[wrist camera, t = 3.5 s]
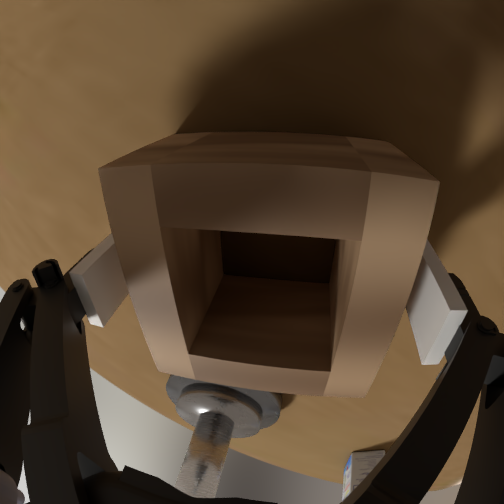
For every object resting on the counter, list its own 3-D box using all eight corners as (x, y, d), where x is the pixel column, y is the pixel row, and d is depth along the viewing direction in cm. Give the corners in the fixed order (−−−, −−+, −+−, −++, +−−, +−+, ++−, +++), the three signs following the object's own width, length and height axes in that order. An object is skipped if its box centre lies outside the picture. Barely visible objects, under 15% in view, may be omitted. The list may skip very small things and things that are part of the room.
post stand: (160, 347, 22) (102, 464, 13) (285, 367, 20) (260, 510, 11) (183, 406, 27) (149, 495, 18) (278, 423, 26) (259, 522, 16)
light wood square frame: (174, 134, 13) (98, 168, 8) (388, 141, 12) (439, 181, 6) (195, 297, 18) (158, 371, 13) (357, 312, 17) (364, 397, 12)
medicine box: (351, 451, 28) (347, 513, 21) (386, 448, 27) (386, 510, 20) (343, 468, 32) (339, 520, 25) (373, 466, 31) (371, 517, 24)
